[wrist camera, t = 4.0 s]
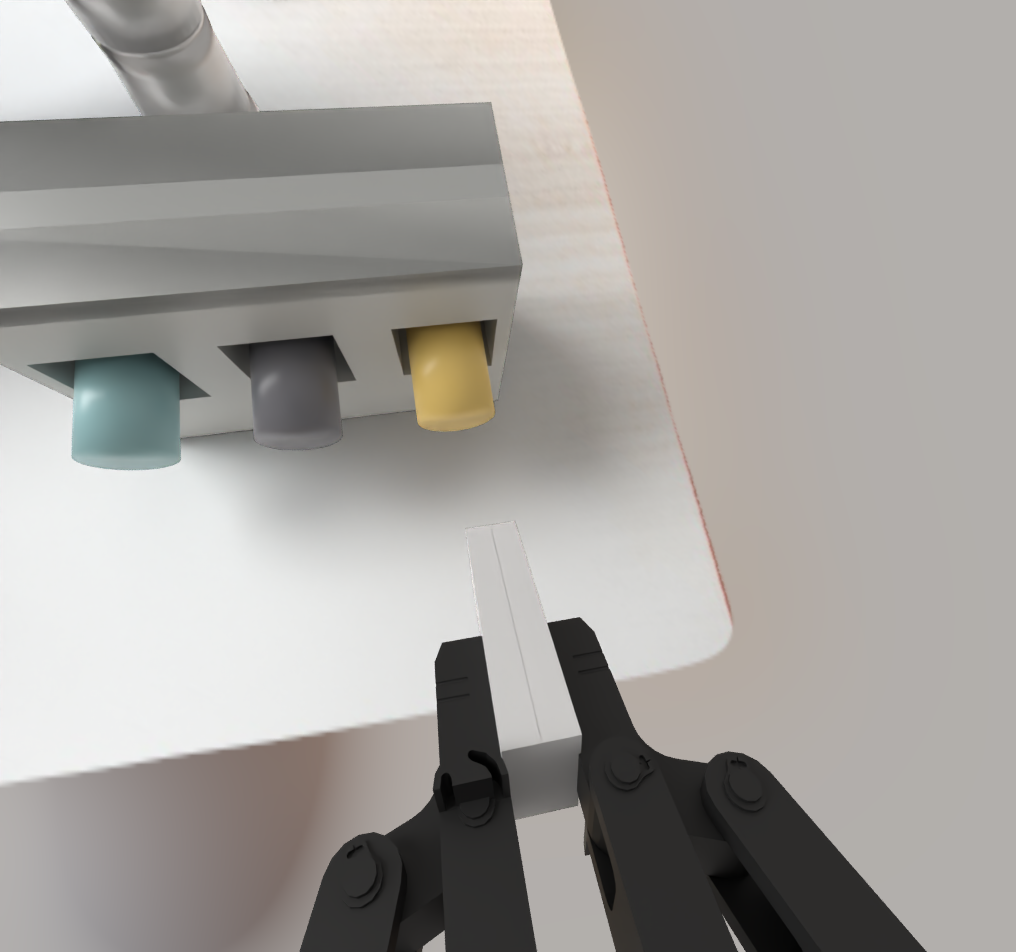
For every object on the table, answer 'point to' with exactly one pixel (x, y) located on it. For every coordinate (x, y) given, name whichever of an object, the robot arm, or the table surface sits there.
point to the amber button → (450, 376)
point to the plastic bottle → (165, 55)
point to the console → (254, 245)
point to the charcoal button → (295, 393)
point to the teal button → (126, 413)
